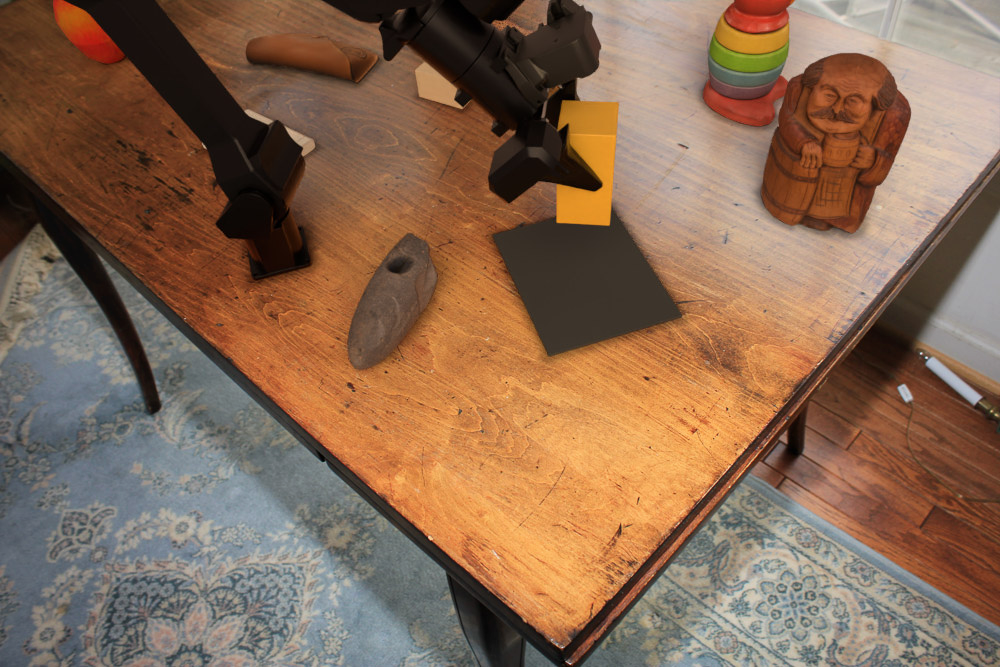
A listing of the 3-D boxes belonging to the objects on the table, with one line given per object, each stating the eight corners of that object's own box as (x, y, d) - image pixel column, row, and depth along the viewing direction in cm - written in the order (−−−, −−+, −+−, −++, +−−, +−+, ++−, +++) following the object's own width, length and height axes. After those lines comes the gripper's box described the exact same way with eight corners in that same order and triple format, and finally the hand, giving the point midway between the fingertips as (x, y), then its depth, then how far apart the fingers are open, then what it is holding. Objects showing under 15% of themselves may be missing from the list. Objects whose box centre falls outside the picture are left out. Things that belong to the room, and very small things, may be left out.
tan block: (462, 109, 98) (459, 82, 95) (419, 96, 101) (414, 70, 98) (489, 82, 102) (487, 55, 99) (446, 71, 105) (443, 44, 102)
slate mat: (681, 317, 73) (682, 315, 73) (548, 357, 71) (548, 354, 71) (609, 205, 84) (609, 203, 84) (492, 237, 82) (492, 234, 82)
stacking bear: (768, 130, 91) (805, -14, 78) (689, 112, 95) (711, -29, 81) (791, 85, 97) (829, -56, 84) (715, 69, 101) (740, -69, 87)
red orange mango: (68, 69, 111) (24, -10, 102) (109, 39, 116) (70, -39, 107) (116, 79, 109) (75, -1, 99) (156, 48, 114) (120, -31, 105)
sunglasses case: (382, 52, 108) (363, 26, 101) (367, 97, 107) (347, 73, 101) (278, 35, 113) (254, 10, 106) (263, 78, 112) (238, 54, 106)
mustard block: (556, 223, 70) (556, 133, 62) (561, 189, 73) (561, 99, 65) (609, 226, 69) (616, 136, 62) (612, 191, 72) (619, 101, 65)
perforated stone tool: (381, 391, 70) (366, 345, 64) (334, 374, 71) (316, 328, 66) (453, 283, 78) (445, 234, 73) (409, 270, 80) (399, 221, 74)
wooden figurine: (749, 217, 82) (788, 68, 68) (760, 182, 85) (799, 34, 72) (863, 242, 78) (928, 90, 64) (869, 204, 82) (933, 53, 68)
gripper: (524, 51, 49) (672, 189, 56) (552, -69, 61) (672, 58, 68) (425, 144, 57) (567, 257, 64) (467, 21, 68) (583, 128, 75)
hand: (601, 169), depth 67 cm, fingers closed on mustard block, 5 cm apart
